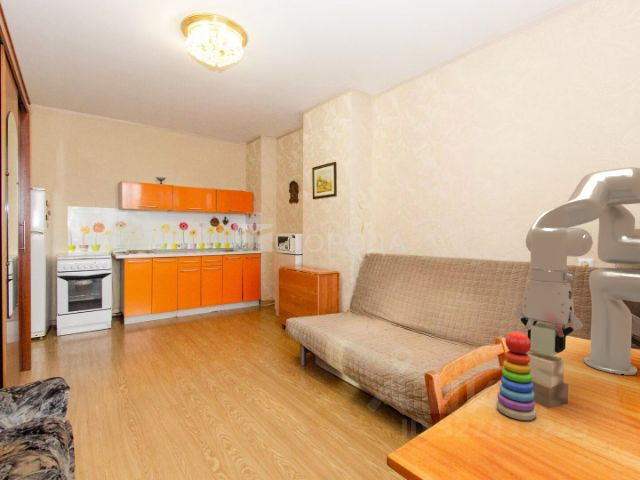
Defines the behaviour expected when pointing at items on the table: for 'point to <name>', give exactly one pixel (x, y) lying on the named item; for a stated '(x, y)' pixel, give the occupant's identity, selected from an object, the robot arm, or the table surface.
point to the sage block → (543, 338)
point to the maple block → (546, 369)
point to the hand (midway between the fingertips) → (545, 347)
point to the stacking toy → (517, 380)
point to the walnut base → (550, 394)
